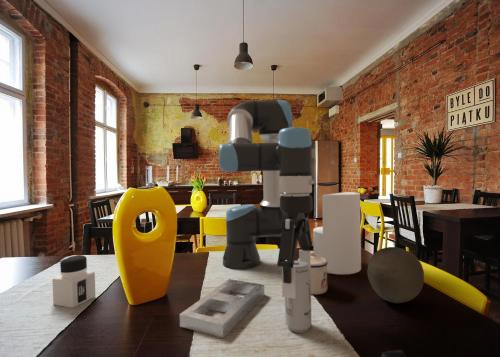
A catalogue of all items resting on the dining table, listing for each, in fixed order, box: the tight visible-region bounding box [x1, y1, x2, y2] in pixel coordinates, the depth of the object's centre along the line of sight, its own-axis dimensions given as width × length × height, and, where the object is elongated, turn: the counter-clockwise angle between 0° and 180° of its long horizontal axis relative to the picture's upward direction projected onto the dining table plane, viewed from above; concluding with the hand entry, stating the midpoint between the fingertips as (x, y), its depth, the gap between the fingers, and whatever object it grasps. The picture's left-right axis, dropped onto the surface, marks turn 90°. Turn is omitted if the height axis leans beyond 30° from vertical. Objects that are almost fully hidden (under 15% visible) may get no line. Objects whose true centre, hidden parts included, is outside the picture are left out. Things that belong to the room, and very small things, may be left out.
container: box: [52, 254, 96, 309], centre depth 83 cm, size 8×8×13 cm
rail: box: [179, 278, 265, 339], centre depth 76 cm, size 24×12×3 cm, turn 155°
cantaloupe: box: [366, 246, 425, 304], centre depth 77 cm, size 14×14×15 cm
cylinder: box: [312, 191, 362, 275], centre depth 107 cm, size 17×17×28 cm
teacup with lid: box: [297, 250, 328, 295], centre depth 88 cm, size 12×9×12 cm
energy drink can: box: [284, 259, 312, 334], centre depth 66 cm, size 6×6×15 cm
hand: (297, 285), depth 66 cm, fingers open, 13 cm apart
